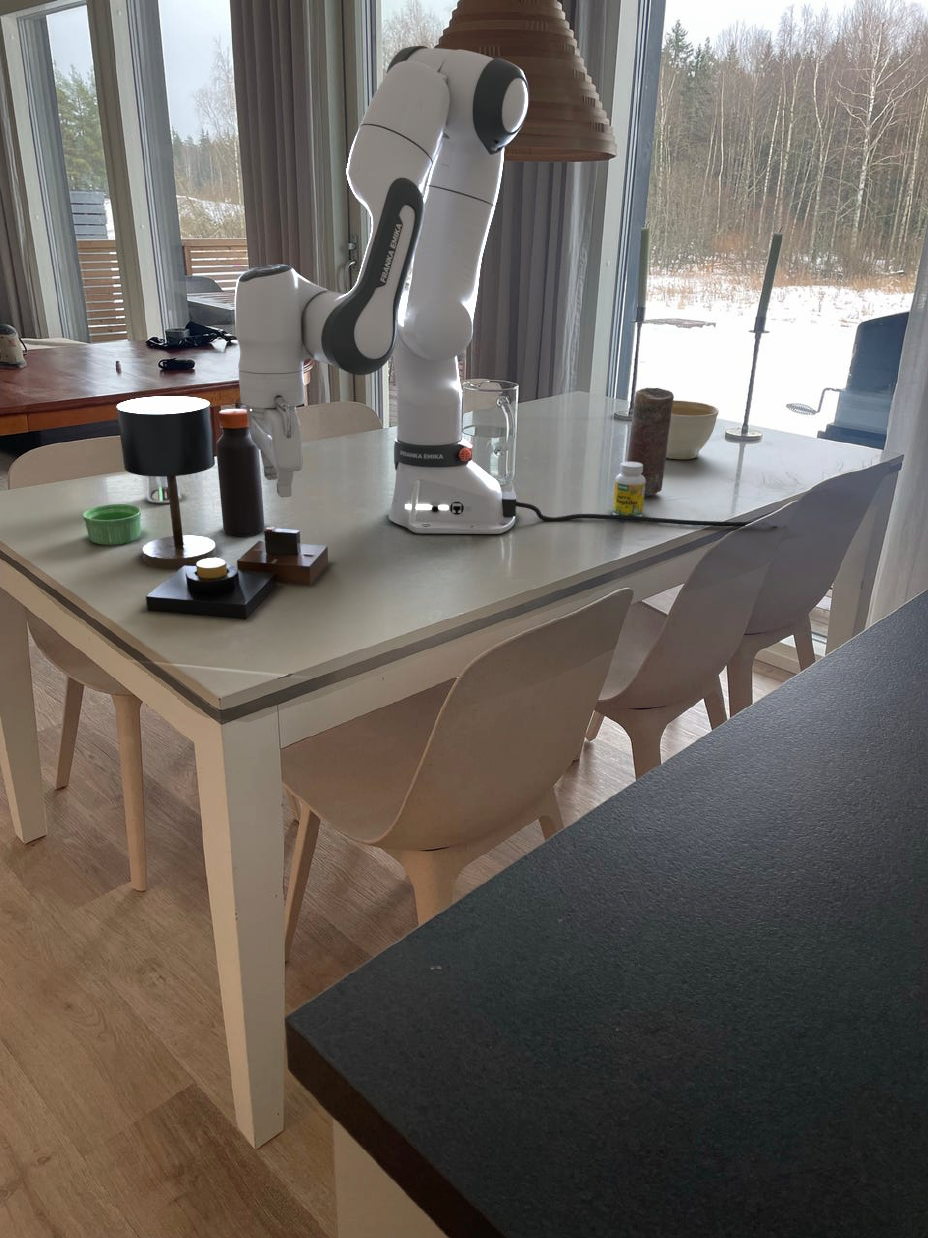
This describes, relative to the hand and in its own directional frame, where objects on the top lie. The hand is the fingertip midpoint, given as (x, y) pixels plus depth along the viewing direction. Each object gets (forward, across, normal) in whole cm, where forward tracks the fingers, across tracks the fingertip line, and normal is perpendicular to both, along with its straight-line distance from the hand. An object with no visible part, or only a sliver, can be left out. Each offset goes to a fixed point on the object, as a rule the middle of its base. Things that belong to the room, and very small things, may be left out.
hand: (277, 487), depth 135 cm
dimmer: (+13, 0, 0) cm, 13 cm away
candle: (+13, +19, -75) cm, 78 cm away
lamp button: (+10, -7, +11) cm, 16 cm away
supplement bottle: (+13, +8, -65) cm, 66 cm away
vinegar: (+13, +21, +2) cm, 25 cm away
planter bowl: (+13, +44, -99) cm, 109 cm away
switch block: (+13, -7, +11) cm, 19 cm away
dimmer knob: (+10, 0, 0) cm, 10 cm away
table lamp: (+13, +12, +14) cm, 22 cm away
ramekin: (+14, +24, +22) cm, 36 cm away
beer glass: (+14, +44, +13) cm, 48 cm away
